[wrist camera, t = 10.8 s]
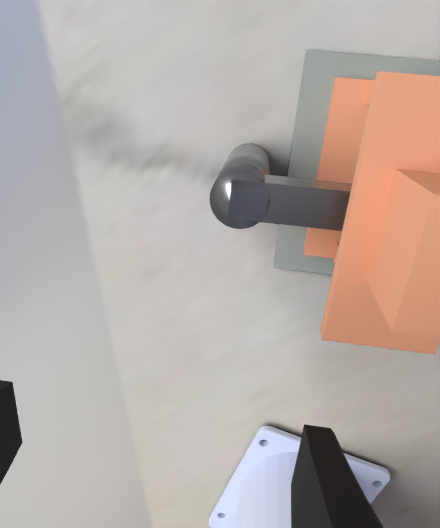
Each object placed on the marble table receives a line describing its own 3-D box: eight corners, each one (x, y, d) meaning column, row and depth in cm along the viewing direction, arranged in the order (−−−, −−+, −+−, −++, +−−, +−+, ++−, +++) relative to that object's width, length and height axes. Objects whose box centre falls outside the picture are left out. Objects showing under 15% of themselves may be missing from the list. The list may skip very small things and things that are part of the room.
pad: (457, 63, 15) (461, 62, 15) (394, 279, 19) (396, 282, 18) (305, 50, 15) (306, 49, 15) (273, 265, 19) (273, 267, 19)
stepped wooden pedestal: (420, 84, 15) (629, 83, 6) (375, 258, 18) (475, 420, 9) (334, 77, 15) (421, 65, 7) (303, 249, 18) (335, 400, 10)
